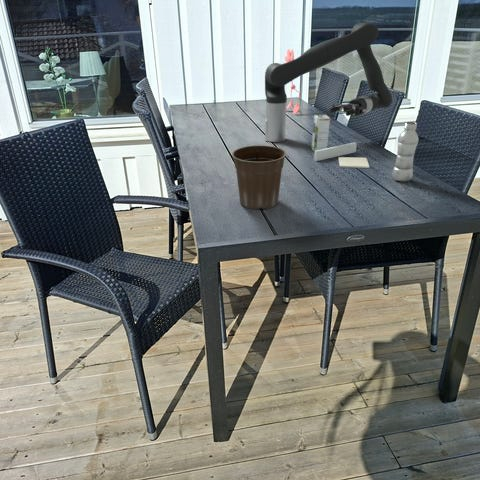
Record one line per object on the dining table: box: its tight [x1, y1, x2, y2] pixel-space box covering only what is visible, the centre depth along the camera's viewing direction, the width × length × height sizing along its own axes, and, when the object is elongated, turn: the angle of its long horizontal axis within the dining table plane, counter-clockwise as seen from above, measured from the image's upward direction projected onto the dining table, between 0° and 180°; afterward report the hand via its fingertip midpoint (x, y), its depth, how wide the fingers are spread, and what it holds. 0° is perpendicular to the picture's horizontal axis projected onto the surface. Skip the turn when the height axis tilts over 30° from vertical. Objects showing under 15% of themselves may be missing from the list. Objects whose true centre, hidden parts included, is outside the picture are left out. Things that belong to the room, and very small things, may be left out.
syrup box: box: [310, 114, 331, 153], centre depth 181 cm, size 6×6×14 cm
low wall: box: [313, 141, 357, 162], centre depth 175 cm, size 22×1×4 cm, turn 122°
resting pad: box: [337, 156, 370, 169], centre depth 168 cm, size 11×11×1 cm
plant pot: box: [231, 144, 287, 210], centre depth 131 cm, size 16×16×16 cm
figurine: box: [284, 48, 302, 118], centre depth 242 cm, size 15×26×35 cm, turn 16°
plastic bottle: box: [392, 121, 419, 182], centre depth 145 cm, size 6×7×20 cm
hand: (338, 111), depth 184 cm, fingers open, 8 cm apart
